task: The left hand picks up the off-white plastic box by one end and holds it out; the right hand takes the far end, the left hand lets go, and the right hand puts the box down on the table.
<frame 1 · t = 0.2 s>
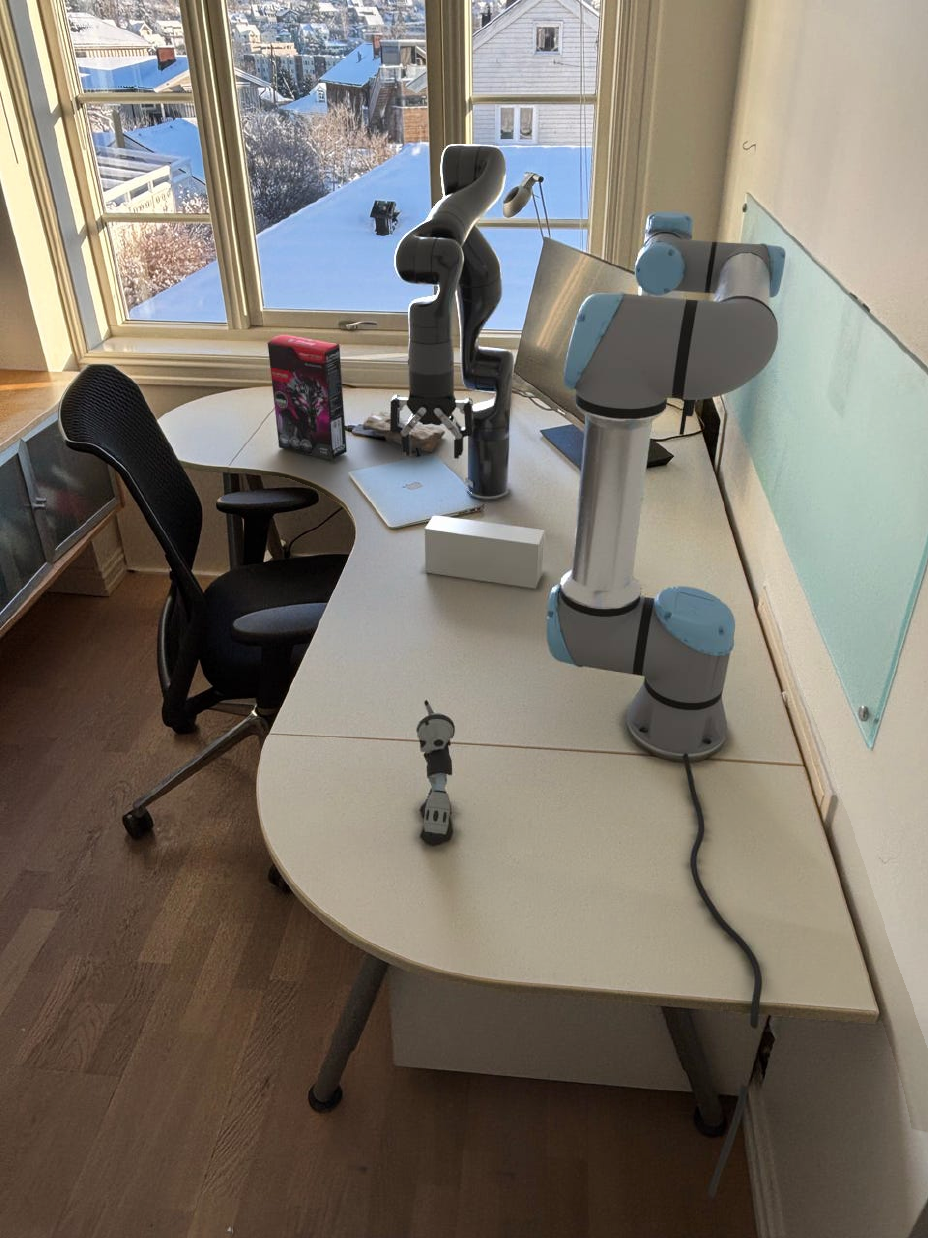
left hand: (432, 455, 162), 28 cm above the table, tool pointing down, fingers open, 8 cm apart
right hand: (644, 428, 169), 29 cm above the table, tool pointing down, fingers open, 13 cm apart
stone: (400, 441, 236), on the table
robot: (436, 824, 126), on the table
graphics card box: (312, 451, 231), on the table
box: (483, 573, 182), on the table
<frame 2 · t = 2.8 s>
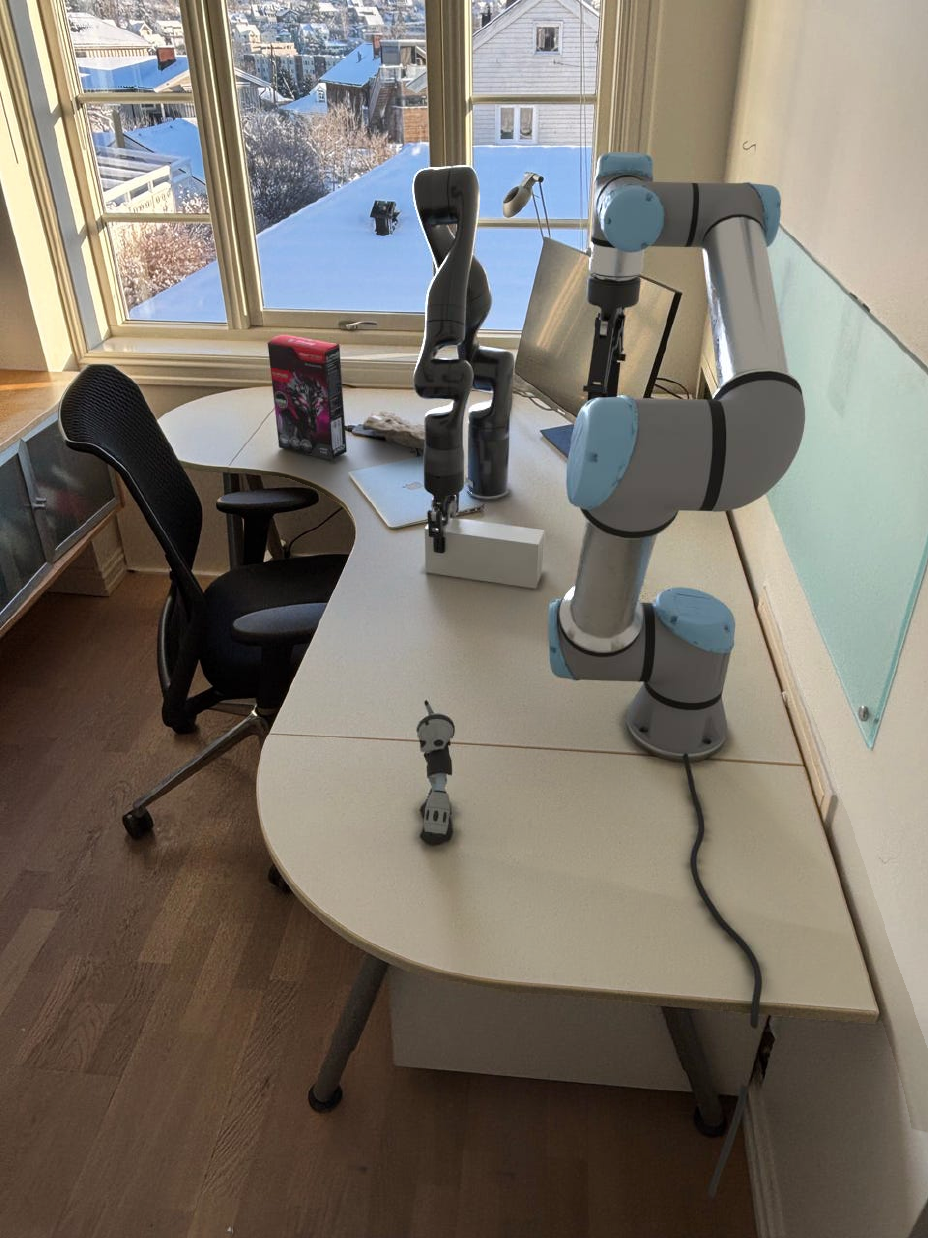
left hand: (444, 543, 181), 5 cm above the table, tool pointing down, fingers closed on box, 6 cm apart
right hand: (601, 417, 142), 41 cm above the table, tool pointing down, fingers open, 13 cm apart
box: (483, 572, 182), on the table, touching left hand
everything else where it was.
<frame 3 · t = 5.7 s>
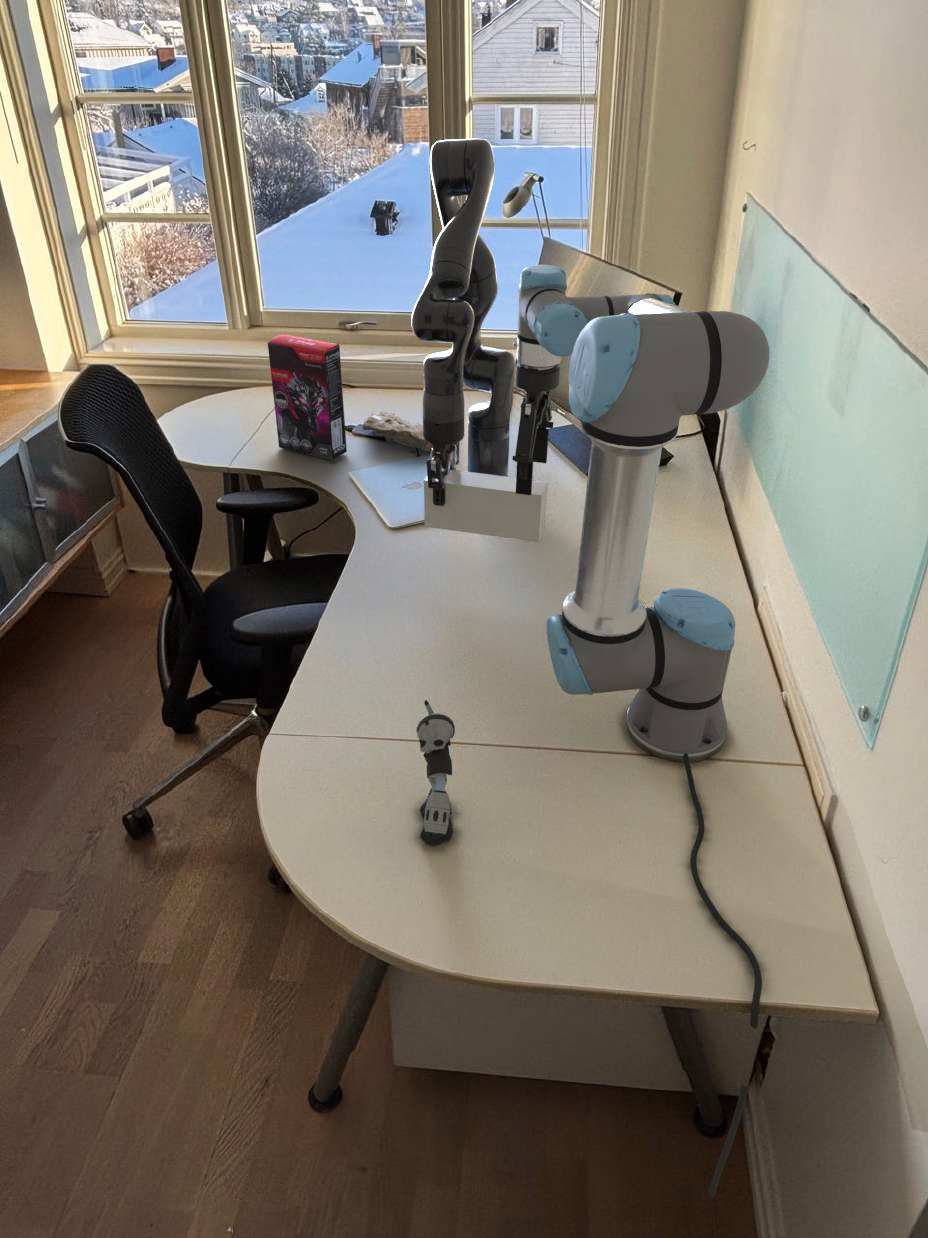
left hand: (444, 496, 175), 15 cm above the table, tool pointing down, fingers closed on box, 6 cm apart
right hand: (531, 477, 168), 22 cm above the table, tool pointing down, fingers open, 13 cm apart
box: (484, 527, 177), point 10 cm above the table, touching left hand
everything else where it was.
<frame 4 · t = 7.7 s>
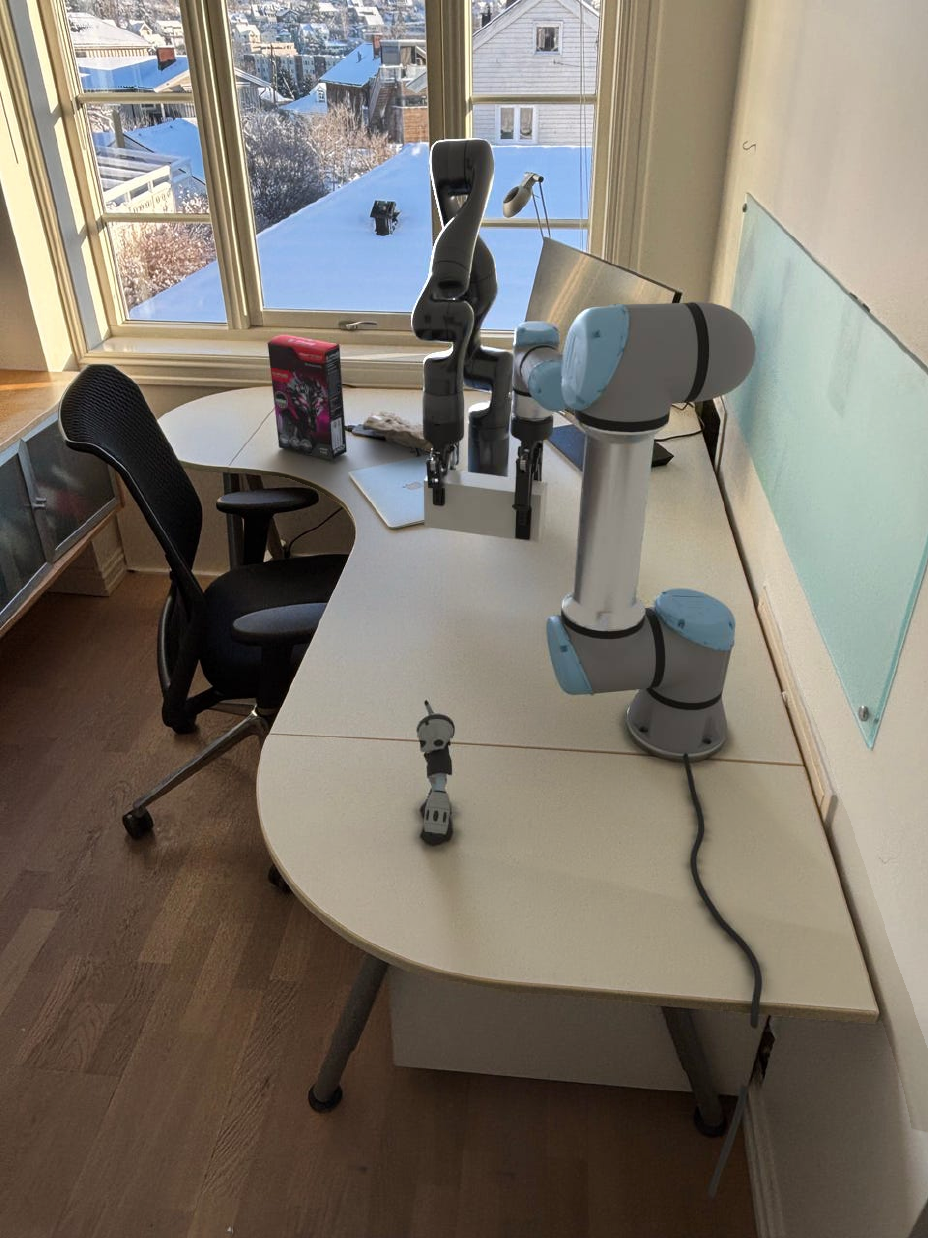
left hand: (443, 497, 175), 15 cm above the table, tool pointing down, fingers closed on box, 6 cm apart
right hand: (526, 529, 174), 11 cm above the table, tool pointing down, fingers closed on box, 6 cm apart
box: (484, 527, 177), point 10 cm above the table, touching right hand, left hand
everything else where it was.
when the left hand's fingers open (15 cm above the table, at t = 8.7 s): box stays where it is, held by the right hand.
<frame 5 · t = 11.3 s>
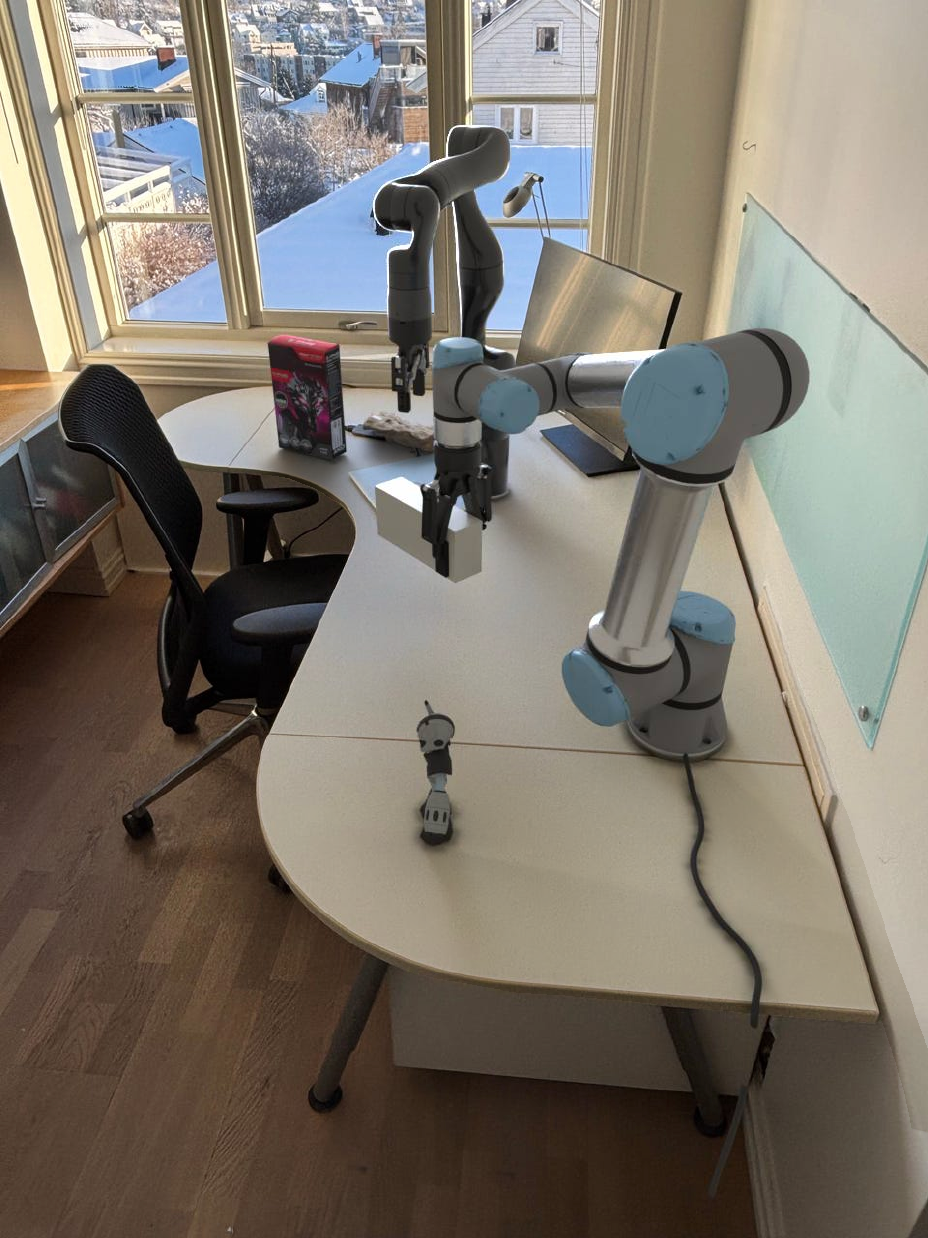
left hand: (411, 403, 167), 33 cm above the table, tool pointing down, fingers open, 8 cm apart
right hand: (457, 567, 157), 14 cm above the table, tool pointing down, fingers closed on box, 6 cm apart
box: (427, 552, 163), point 13 cm above the table, touching right hand
everything else where it was.
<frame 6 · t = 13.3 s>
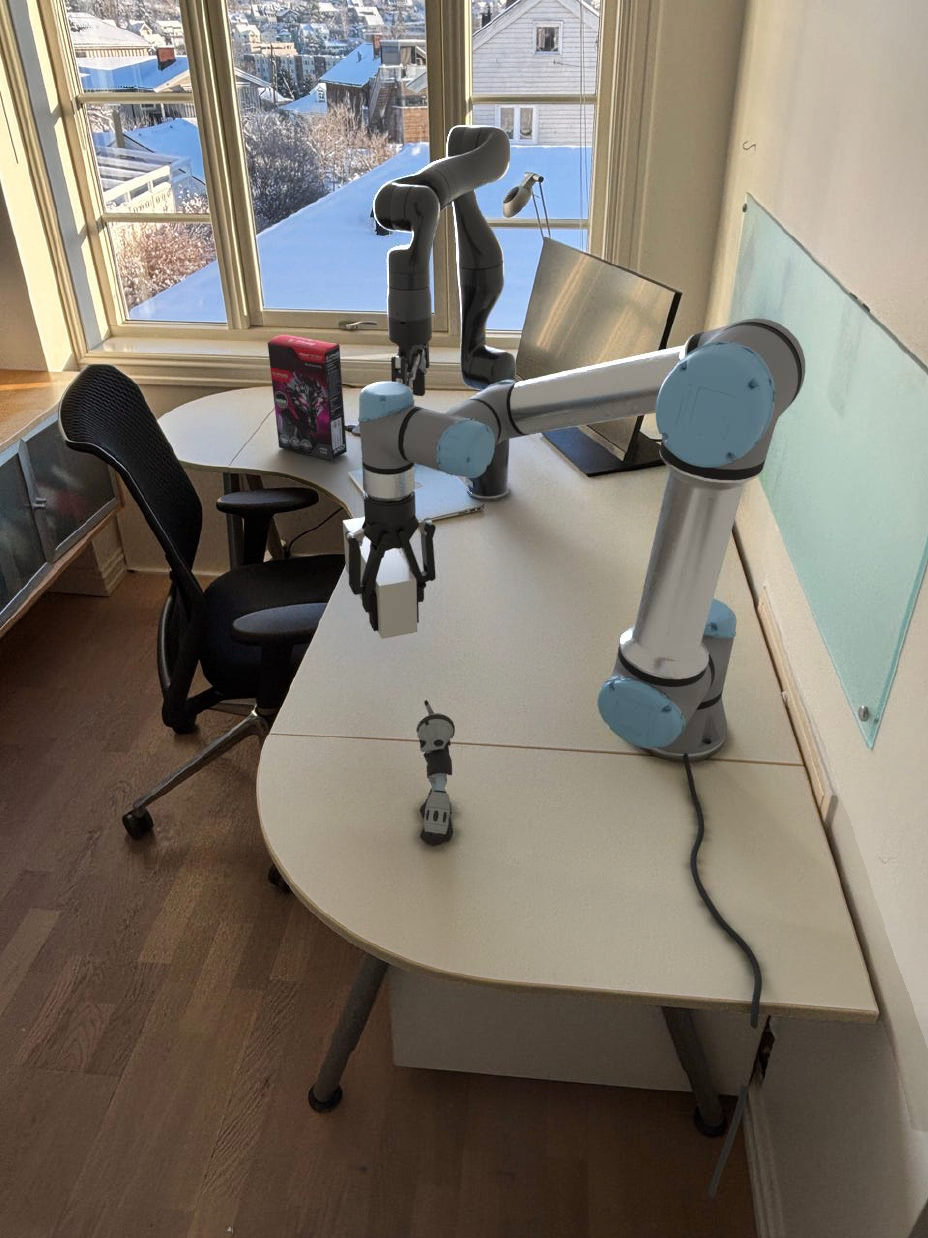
left hand: (411, 403, 167), 33 cm above the table, tool pointing down, fingers open, 8 cm apart
right hand: (394, 622, 147), 12 cm above the table, tool pointing down, fingers closed on box, 6 cm apart
box: (380, 599, 153), point 11 cm above the table, touching right hand
everything else where it was.
when the right hand's fingers open (2 cm above the table, at t = 14.9 s): box drops 1 cm, on the table.
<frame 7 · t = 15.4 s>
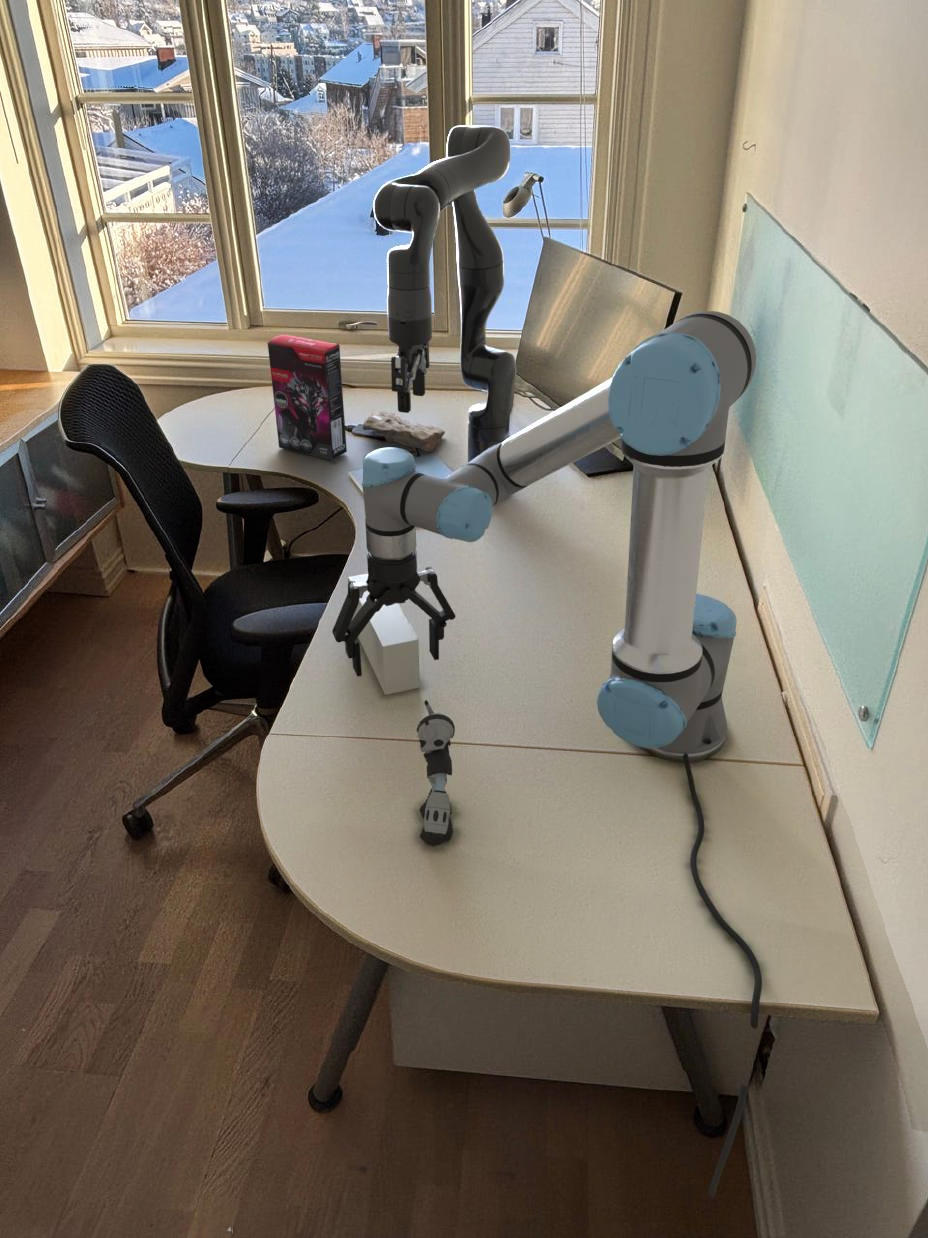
left hand: (411, 403, 167), 33 cm above the table, tool pointing down, fingers open, 8 cm apart
right hand: (396, 663, 151), 4 cm above the table, tool pointing down, fingers open, 12 cm apart
box: (383, 653, 159), on the table
everything else where it was.
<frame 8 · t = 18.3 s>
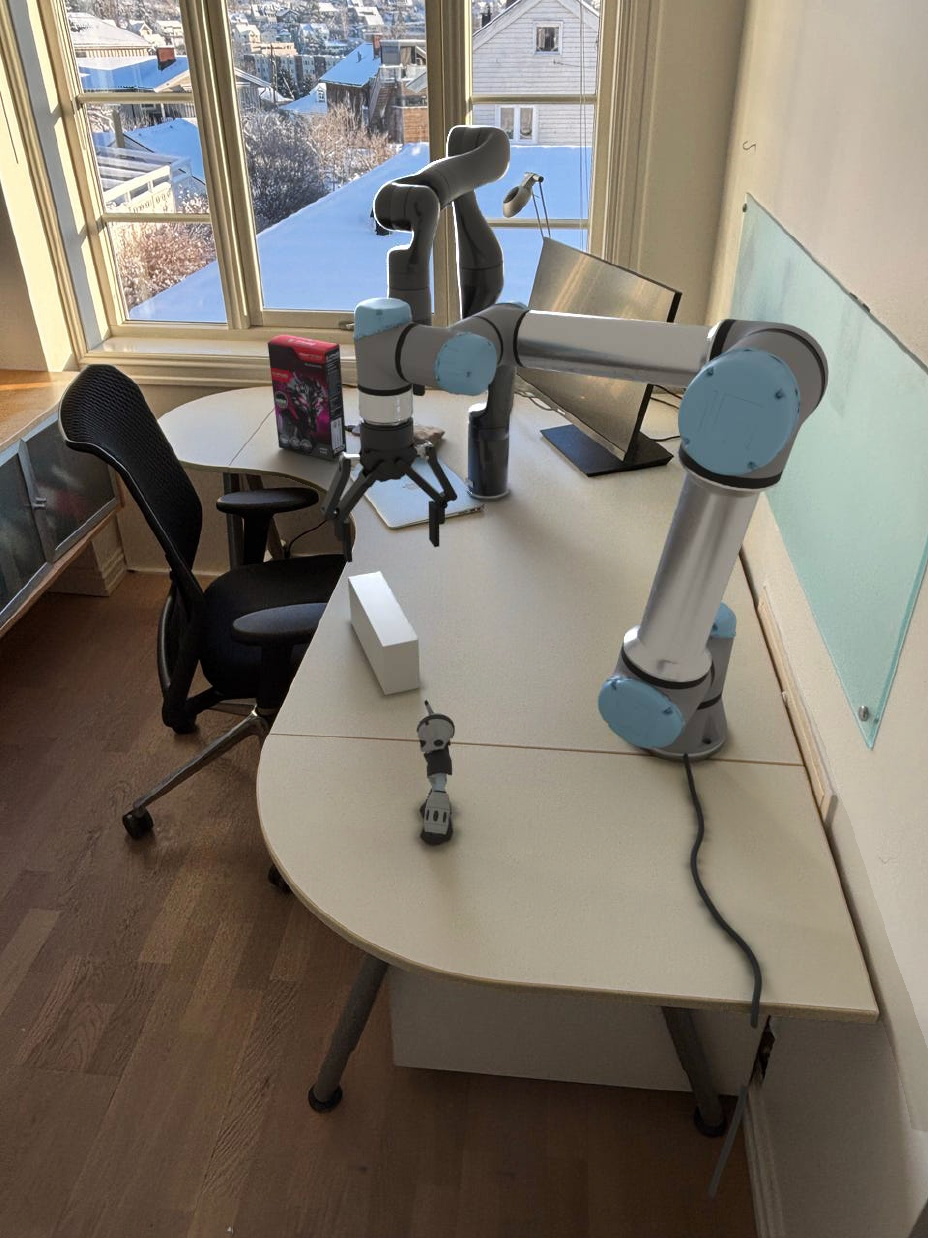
left hand: (411, 403, 167), 33 cm above the table, tool pointing down, fingers open, 8 cm apart
right hand: (391, 550, 139), 25 cm above the table, tool pointing down, fingers open, 13 cm apart
nothing on the table moved.
at the end: box inside the target area (8.0 cm from its centre), on the table; the left hand is holding nothing; the right hand is holding nothing; box at rest at the end (0.0 cm/s) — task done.
